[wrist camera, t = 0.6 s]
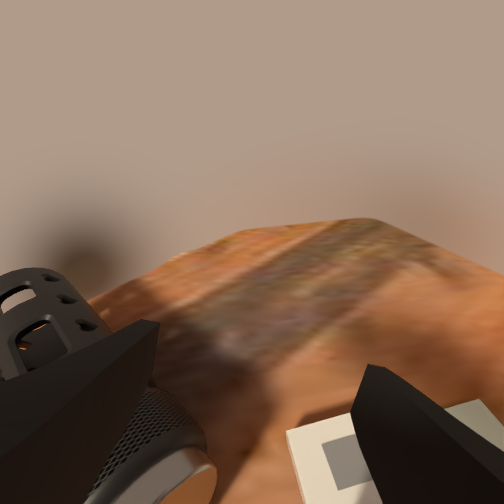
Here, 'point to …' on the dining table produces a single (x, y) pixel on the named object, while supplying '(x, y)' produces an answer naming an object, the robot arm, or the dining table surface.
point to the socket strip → (331, 463)
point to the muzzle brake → (145, 417)
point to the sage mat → (480, 421)
